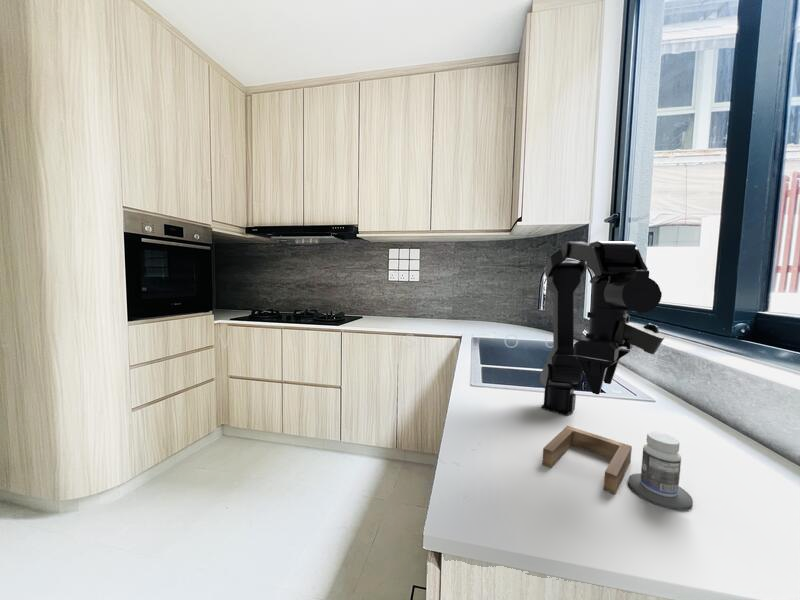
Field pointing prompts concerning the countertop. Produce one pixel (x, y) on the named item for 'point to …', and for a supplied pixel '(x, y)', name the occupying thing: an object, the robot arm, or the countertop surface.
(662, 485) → the pill bottle
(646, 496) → the coaster
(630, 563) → the countertop surface
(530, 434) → the countertop surface
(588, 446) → the nook
